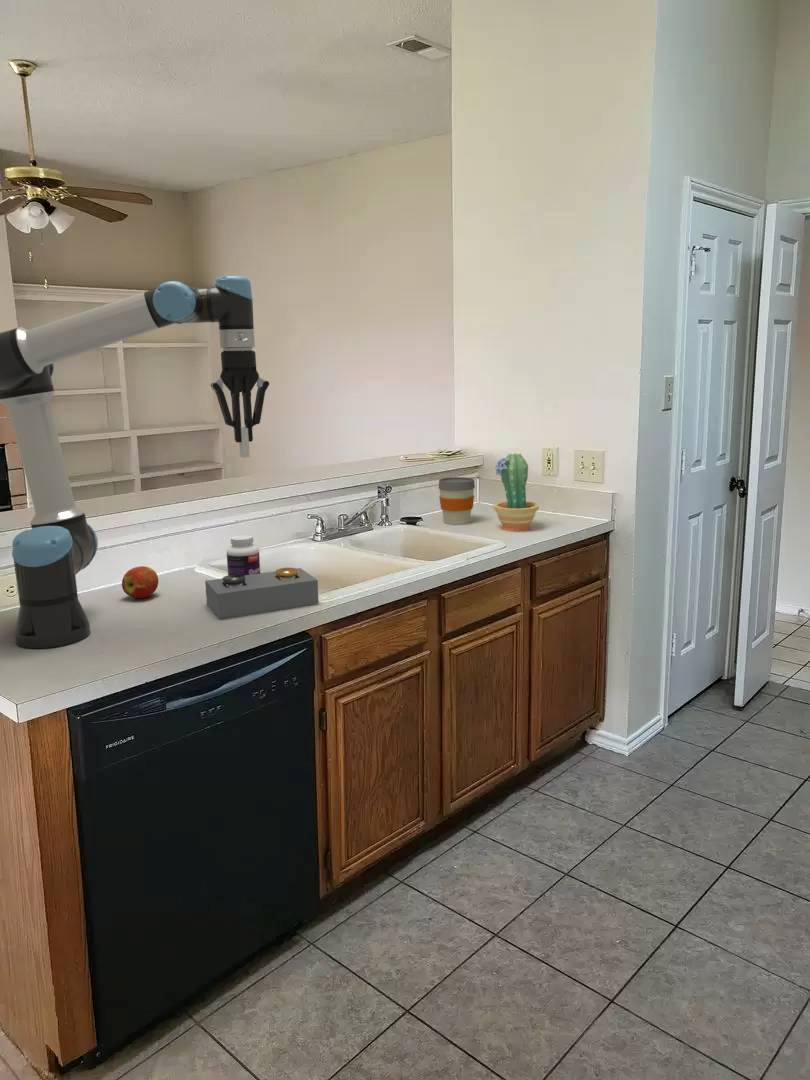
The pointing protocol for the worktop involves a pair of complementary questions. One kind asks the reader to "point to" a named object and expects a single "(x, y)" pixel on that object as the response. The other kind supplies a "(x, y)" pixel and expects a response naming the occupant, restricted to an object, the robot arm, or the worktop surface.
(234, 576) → the knob left
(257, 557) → the pill bottle
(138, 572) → the apple
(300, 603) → the grey vial holder
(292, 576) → the orange capped vial
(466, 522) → the reusable coffee cup
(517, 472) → the potted cactus
